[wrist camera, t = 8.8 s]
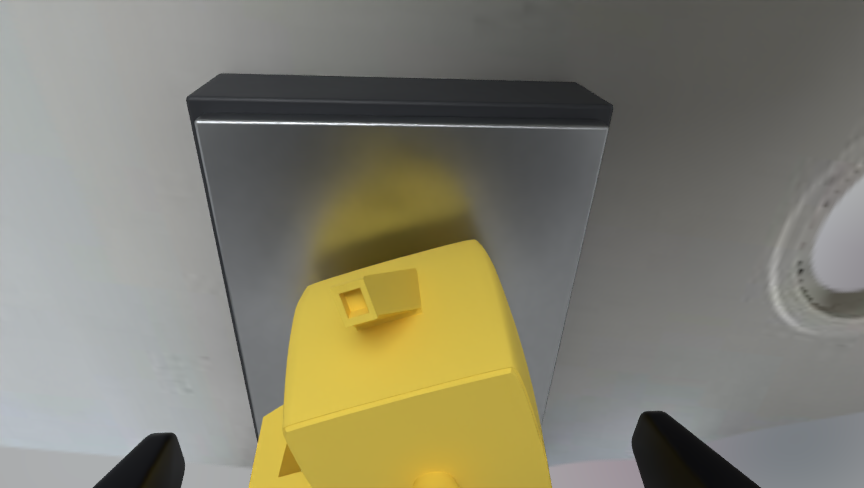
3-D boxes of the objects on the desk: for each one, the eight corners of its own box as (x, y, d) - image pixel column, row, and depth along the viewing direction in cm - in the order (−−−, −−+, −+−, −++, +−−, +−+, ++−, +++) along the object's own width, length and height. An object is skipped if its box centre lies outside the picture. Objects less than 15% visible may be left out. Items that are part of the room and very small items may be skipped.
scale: (519, 391, 18) (542, 462, 16) (274, 401, 17) (255, 477, 15) (577, 81, 13) (628, 112, 10) (218, 72, 12) (172, 104, 9)
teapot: (206, 222, 10) (76, 416, 6) (466, 145, 10) (533, 291, 6) (340, 448, 14) (322, 665, 10) (528, 399, 14) (597, 601, 10)
